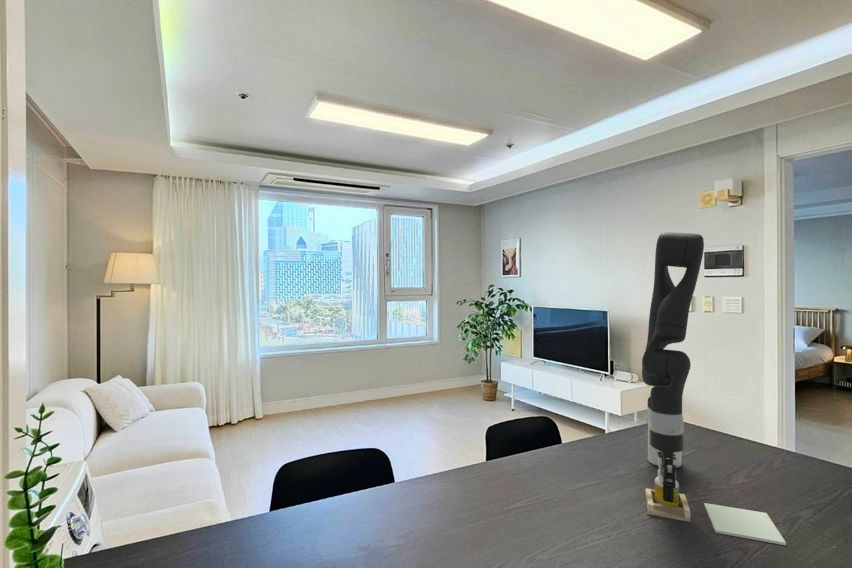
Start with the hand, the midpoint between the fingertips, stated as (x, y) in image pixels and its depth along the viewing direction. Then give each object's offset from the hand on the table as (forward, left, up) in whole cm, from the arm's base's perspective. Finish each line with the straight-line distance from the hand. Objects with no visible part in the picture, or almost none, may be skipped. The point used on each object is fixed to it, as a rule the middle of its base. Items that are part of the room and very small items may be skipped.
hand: (666, 495), depth 110 cm
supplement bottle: (0, 0, -4) cm, 4 cm away
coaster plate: (+1, +15, -3) cm, 16 cm away
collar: (0, 0, -3) cm, 3 cm away
